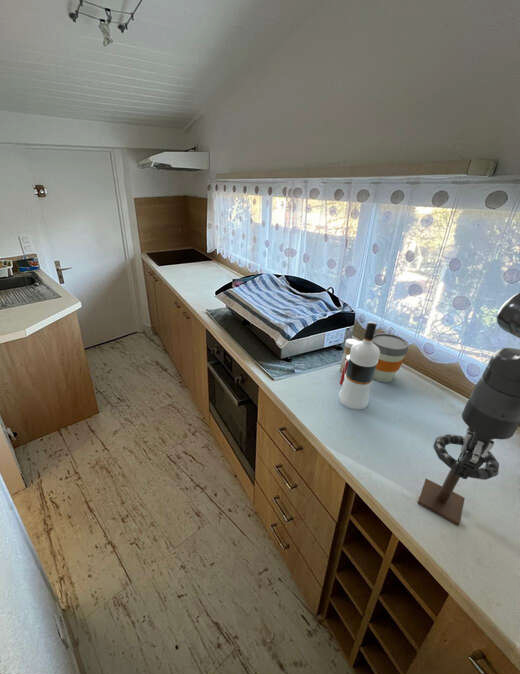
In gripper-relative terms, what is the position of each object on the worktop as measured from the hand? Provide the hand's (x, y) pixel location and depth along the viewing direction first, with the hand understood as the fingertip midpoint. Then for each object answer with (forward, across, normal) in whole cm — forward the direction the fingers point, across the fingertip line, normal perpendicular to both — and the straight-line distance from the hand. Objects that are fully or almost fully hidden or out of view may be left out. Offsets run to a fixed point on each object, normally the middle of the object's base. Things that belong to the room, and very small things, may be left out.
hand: (460, 471), depth 62 cm
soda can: (+15, +35, +34) cm, 51 cm away
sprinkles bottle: (+15, +44, +38) cm, 60 cm away
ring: (-1, +4, 0) cm, 4 cm away
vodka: (+15, +27, +29) cm, 42 cm away
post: (+15, +5, 0) cm, 16 cm away
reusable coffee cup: (+15, +50, +27) cm, 59 cm away
